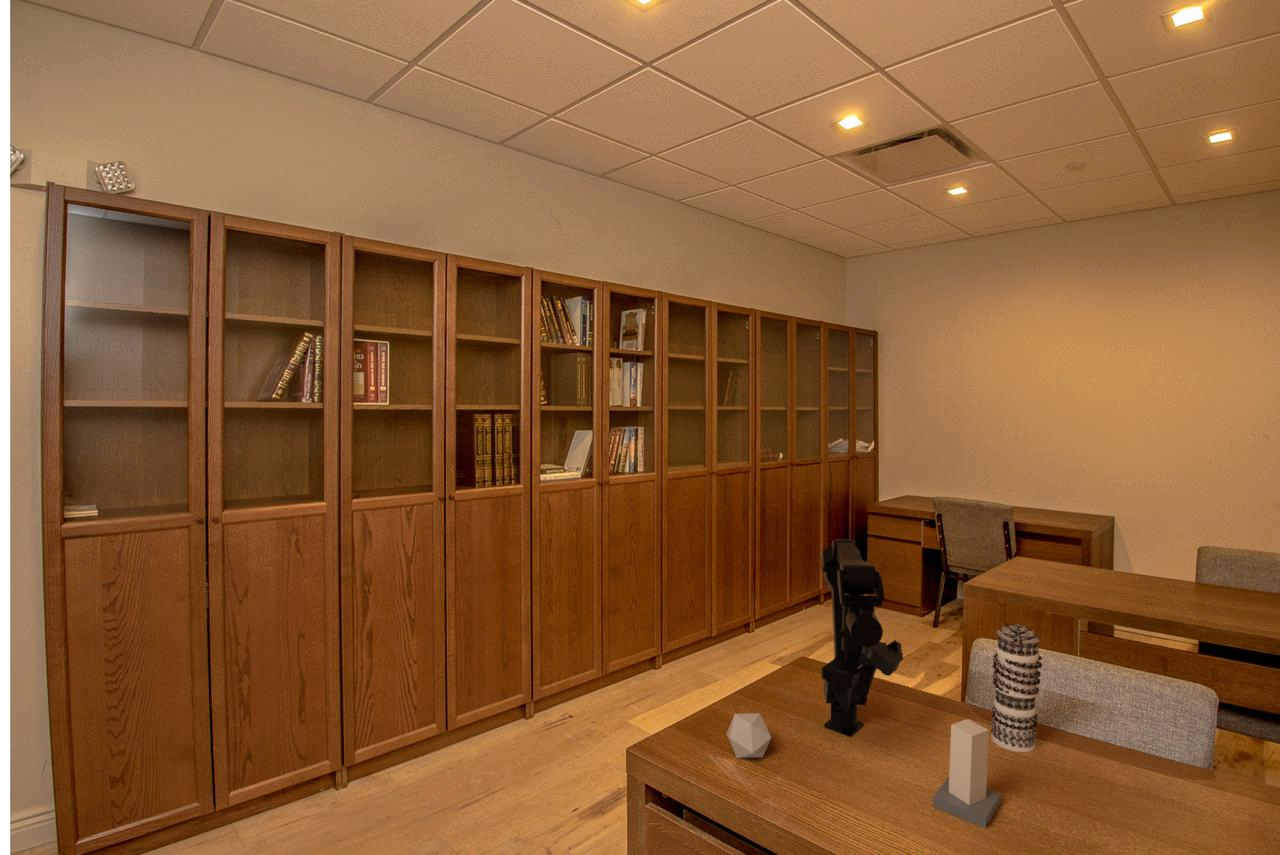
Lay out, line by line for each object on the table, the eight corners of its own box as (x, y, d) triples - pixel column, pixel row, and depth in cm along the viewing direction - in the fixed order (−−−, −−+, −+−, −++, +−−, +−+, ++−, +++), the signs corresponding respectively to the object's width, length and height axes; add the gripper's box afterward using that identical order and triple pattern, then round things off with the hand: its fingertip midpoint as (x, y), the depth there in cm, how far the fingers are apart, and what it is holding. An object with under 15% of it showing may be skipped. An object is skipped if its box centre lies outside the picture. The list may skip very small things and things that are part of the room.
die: (759, 774, 141) (783, 728, 143) (720, 749, 142) (744, 704, 144) (752, 766, 149) (774, 722, 151) (715, 742, 150) (738, 699, 152)
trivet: (949, 784, 136) (950, 774, 136) (1000, 803, 130) (1000, 793, 130) (932, 806, 129) (933, 796, 129) (985, 828, 123) (985, 817, 123)
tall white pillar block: (948, 791, 130) (951, 724, 129) (965, 785, 132) (967, 718, 131) (969, 805, 126) (972, 736, 125) (985, 798, 128) (988, 730, 127)
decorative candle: (1048, 747, 148) (1054, 632, 146) (1016, 757, 145) (1022, 639, 142) (1010, 726, 157) (1015, 617, 154) (979, 735, 153) (984, 624, 151)
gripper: (877, 652, 128) (874, 734, 129) (915, 623, 142) (913, 697, 143) (820, 636, 135) (819, 714, 137) (862, 610, 149) (860, 681, 151)
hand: (855, 702), depth 142 cm, fingers open, 9 cm apart
